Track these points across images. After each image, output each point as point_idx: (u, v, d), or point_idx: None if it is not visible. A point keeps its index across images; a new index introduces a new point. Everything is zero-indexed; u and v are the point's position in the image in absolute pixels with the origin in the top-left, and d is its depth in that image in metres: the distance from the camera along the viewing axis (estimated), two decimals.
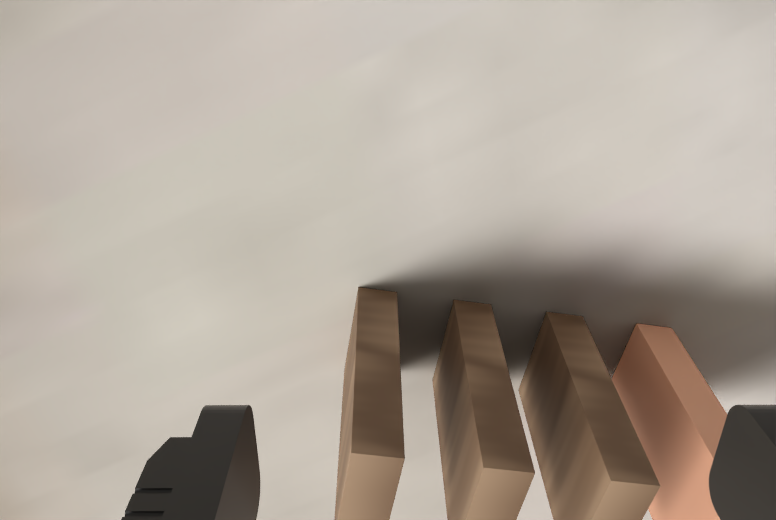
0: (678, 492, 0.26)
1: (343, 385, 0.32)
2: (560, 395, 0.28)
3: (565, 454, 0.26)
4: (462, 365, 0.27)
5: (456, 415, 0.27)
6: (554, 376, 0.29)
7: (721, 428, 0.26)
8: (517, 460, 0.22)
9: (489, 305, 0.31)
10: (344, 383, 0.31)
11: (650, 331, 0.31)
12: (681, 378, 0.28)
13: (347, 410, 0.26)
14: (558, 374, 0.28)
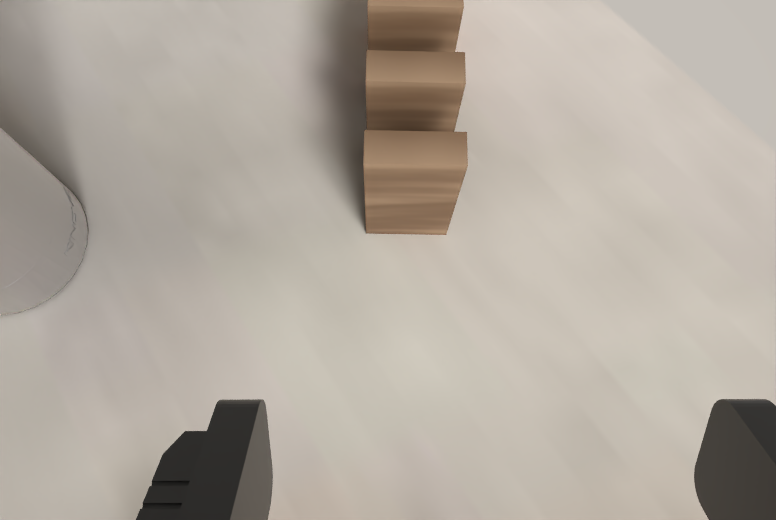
0: None
1: (447, 228, 0.40)
2: None
3: (409, 45, 0.37)
4: None
5: (402, 126, 0.37)
6: None
7: None
8: None
9: None
10: (440, 225, 0.39)
11: None
12: None
13: (404, 198, 0.35)
14: None
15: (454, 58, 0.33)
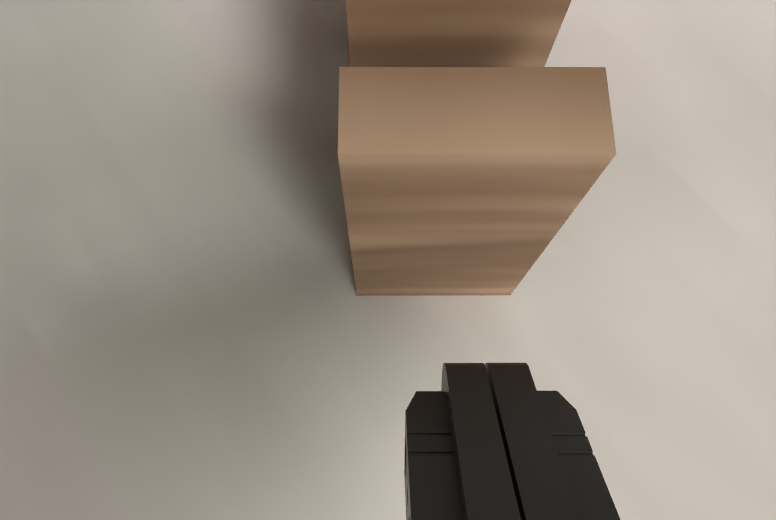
0: None
1: (516, 285, 0.20)
2: None
3: None
4: None
5: None
6: None
7: None
8: None
9: None
10: (503, 281, 0.20)
11: None
12: None
13: (437, 233, 0.16)
14: None
15: None
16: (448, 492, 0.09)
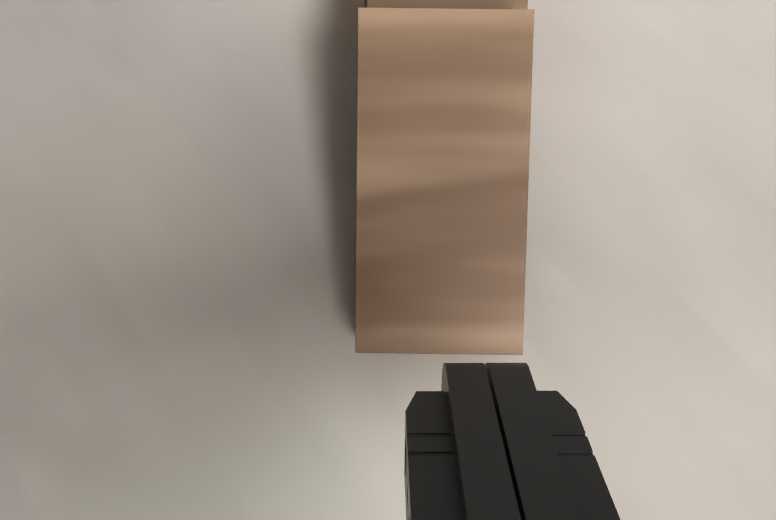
0: None
1: (523, 315, 0.19)
2: None
3: None
4: None
5: None
6: None
7: None
8: None
9: None
10: (506, 302, 0.19)
11: None
12: None
13: (430, 157, 0.19)
14: None
15: None
16: (448, 492, 0.09)
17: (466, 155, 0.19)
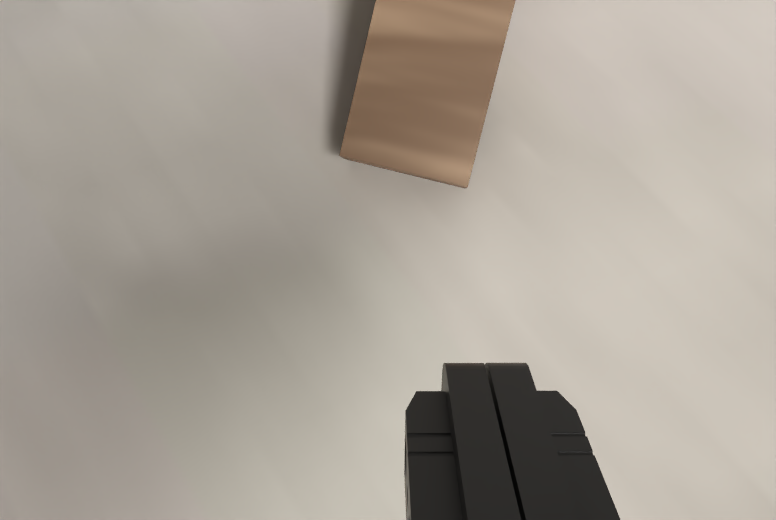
0: None
1: (474, 156, 0.24)
2: None
3: None
4: None
5: None
6: None
7: None
8: None
9: None
10: (464, 142, 0.24)
11: None
12: None
13: (431, 15, 0.24)
14: None
15: None
16: (448, 492, 0.09)
17: (459, 19, 0.24)
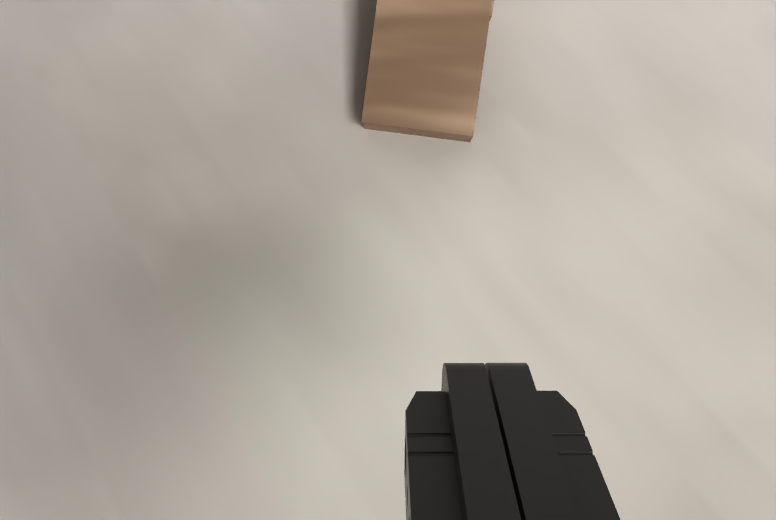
0: None
1: (476, 109, 0.29)
2: None
3: None
4: None
5: None
6: None
7: None
8: None
9: None
10: (466, 98, 0.29)
11: None
12: None
13: None
14: None
15: None
16: (448, 492, 0.09)
17: None
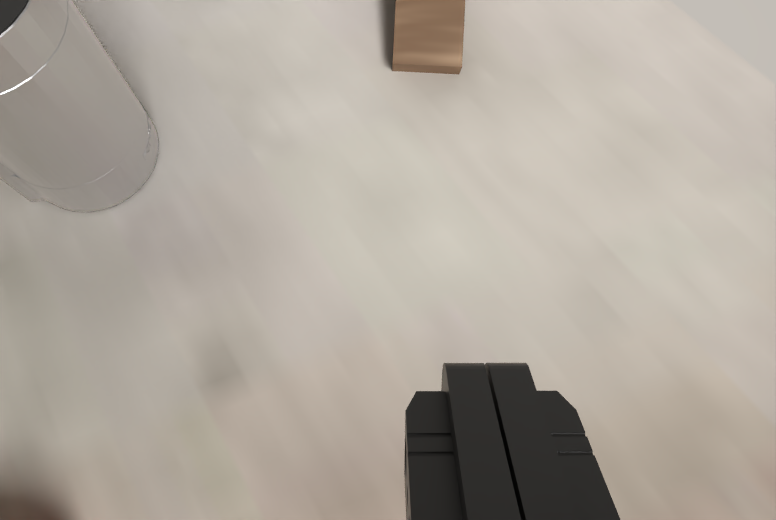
0: None
1: (462, 50, 0.47)
2: None
3: None
4: None
5: None
6: None
7: None
8: None
9: None
10: (455, 44, 0.47)
11: None
12: None
13: None
14: None
15: None
16: (448, 492, 0.09)
17: None
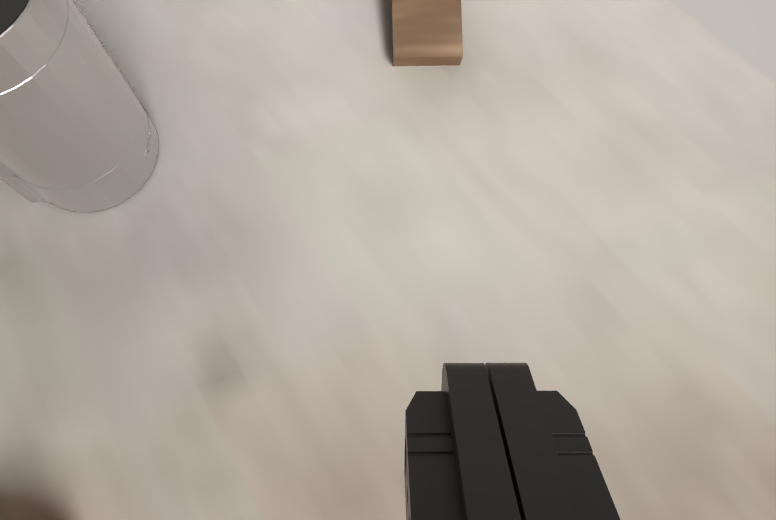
0: None
1: (461, 40, 0.47)
2: None
3: None
4: None
5: None
6: None
7: None
8: None
9: None
10: (454, 35, 0.47)
11: None
12: None
13: None
14: None
15: None
16: (448, 492, 0.09)
17: None
